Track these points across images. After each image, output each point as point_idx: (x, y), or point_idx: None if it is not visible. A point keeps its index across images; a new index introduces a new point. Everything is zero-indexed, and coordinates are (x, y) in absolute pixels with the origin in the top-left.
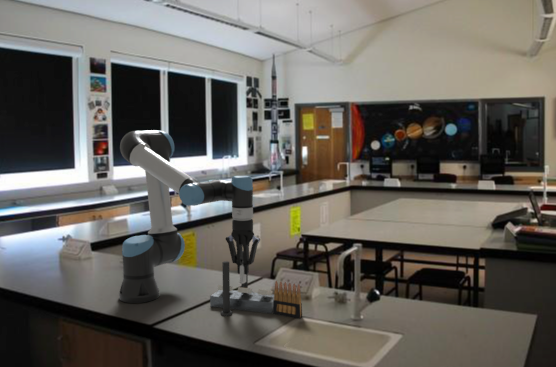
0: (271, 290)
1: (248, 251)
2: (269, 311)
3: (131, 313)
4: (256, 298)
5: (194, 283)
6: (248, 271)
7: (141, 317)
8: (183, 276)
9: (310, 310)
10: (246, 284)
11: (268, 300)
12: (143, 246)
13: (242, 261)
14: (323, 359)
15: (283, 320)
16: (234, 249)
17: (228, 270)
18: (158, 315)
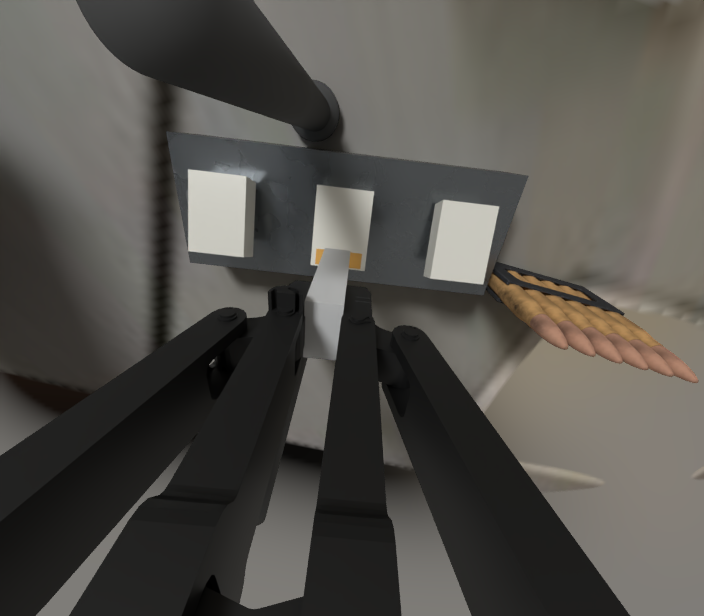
0: (495, 224)
1: (377, 436)
2: None
3: (31, 352)
4: (409, 255)
5: None
6: (370, 298)
7: (87, 372)
8: None
9: (641, 206)
10: (316, 115)
11: None
12: None
13: (301, 320)
14: (579, 482)
15: (510, 325)
16: (136, 442)
17: (279, 461)
18: (116, 353)
